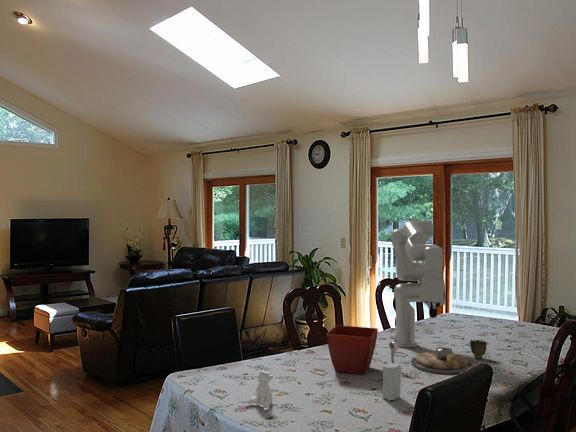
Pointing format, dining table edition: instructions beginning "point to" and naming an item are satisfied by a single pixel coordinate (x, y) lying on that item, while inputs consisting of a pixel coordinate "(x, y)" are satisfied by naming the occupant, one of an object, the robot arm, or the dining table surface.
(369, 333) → the plant pot
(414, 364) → the turntable base
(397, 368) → the skincare box
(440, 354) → the cover
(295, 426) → the dining table surface
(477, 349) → the cup
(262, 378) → the sitting furry creature
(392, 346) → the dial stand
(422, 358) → the platter
